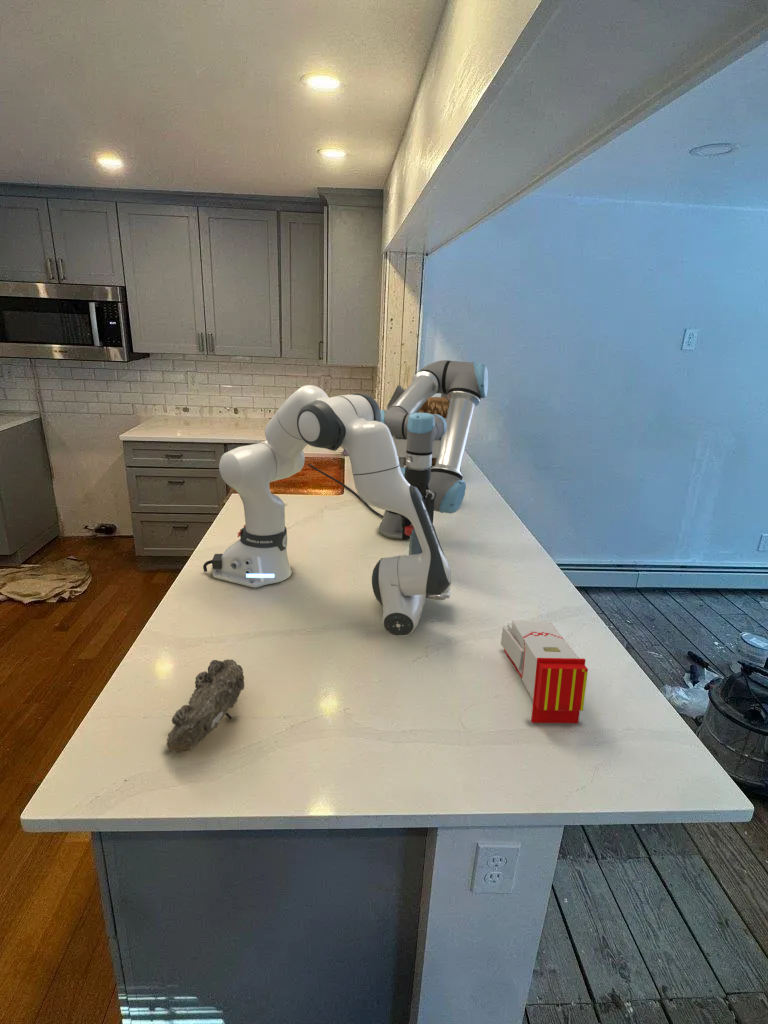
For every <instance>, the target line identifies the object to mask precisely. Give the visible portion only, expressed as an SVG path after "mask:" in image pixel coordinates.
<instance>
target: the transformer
mask: <svg viewBox="0 0 768 1024" xmlns="http://www.w3.org/2000/svg"><path fill="white" fill-rule="evenodd" d="M405 390H406V389H404V388H403V387H402V385H399V384H398V385H397V386H396V388H395V390H394V392H393V394H392V395H391V398H390V400H389V402H388V404H387V405H386V411H387V410H388V409H389V408H390V407H391V406H392V405H393V404H394V403H395V402H396V400H397V399H398V398H399V397H400V396H401V395H402V394H403V393H404V391H405ZM449 404H450V401H449V400H448V398H447V394H441V393H440V396H431V397H429V398H428V399H427V400H426V401H425V403H424V404H423V405H422V406H421V408H420V409H419V410H418V411H417V413H429V414H438V415H440V416H442V417H443V418H444V419H445V421H446V417H447V413H448V408H449ZM392 438H393V441H394V444H395V447H396V450H397V454H398V458H399V463H400V468H403V467H405V466H406V465H405V464H406V447H407V438H402V437H393V436H392ZM441 438H442V437H441ZM441 438H440V439H438V440H436V441H434V442H433V449H432V463H431V467H434V466H435V464H436V459H437V455H438V451H439V447H440V442H441ZM460 472H462V466H461V467H460Z"/></svg>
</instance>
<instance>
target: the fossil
mask: <svg viewBox="0 0 768 1024" xmlns="http://www.w3.org/2000/svg"><path fill="white" fill-rule="evenodd" d="M243 670H244V669H243V667H242V665H240V664H237V662H236V661H235V660H234V659H232V658H231V659H227V658H226V659H224V660H223V661H222V660H217V659H212V660H211V661H210V663H209V665H208V666H207V671H201V672H199V673H198V674H197V675H196V676H195V680H194V684H195V685H194V687H195V689H194V690H193V693H192V694H191V697H190V698H189V700H188V704H184V705H182V706H181V707H180V709H177V710H176V711H175V713H174V715H173V716H172V718H171V723H172V724H173V727H172V730H171V731H170V732H168V734H167V738H166V741H167V742H166V745H167V749H168V750H169V751H173V752H174V753H176V754H178V753H182V752H188V751H189V752H192V751H193V750H195V748H196V747H197V746H199V744H200V743H201V742H203V741H204V740H205V739H206V738H207V737H208V736H209V735H210V734H211V733H212V732H214V730H215V729H217V727H218V726H219V724H220V722H221V721H222V720H223V719H224V718H225V716H226V717H227V719H229V720H233V717H232V715H230V714H229V710H230V709H231V708H234V706H235V704H236V703H237V702H238V699H239V697H240V695H241V693H242V691H243V690H245V689H244V688H245V675H244V671H243Z"/></svg>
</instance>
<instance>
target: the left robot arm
mask: <svg viewBox="0 0 768 1024" xmlns="http://www.w3.org/2000/svg"><path fill="white" fill-rule="evenodd" d="M380 410H381V409H380V406H379V404H378V402H377V401H376V399H374V397H372V396H370V395H368V394H365V393H357V392H355V393H350V394H339V395H334V396H330V397H329V396H328V394H327V393H326V392H325V390H323V389H322V388H320V387H319V386H316V385H313V384H305V385H303V386H300V387H299V388H298V389H296V390H295V391H294V392H293V393H292V394H290V395H289V396H288V397H287V398H286V400H285V401H284V402H283V403H281V405H280V406H279V408H278V409H277V410H276V412H275V413H274V414H273V415H272V417H271V419H269V421H268V422H267V424H265V425H266V426H265V428H264V436H265V437H264V438H265V440H263V441H262V442H258V443H252V444H247V445H242V446H238V447H235V448H233V449H231V450H228V451H226V452H224V453H222V455H221V457H220V459H219V464H218V472H219V475H220V477H221V479H222V481H223V482H224V483H225V484H226V485H227V486H228V487H230V488H232V489H233V490H235V491H236V492H237V494H238V495H239V497H240V500H241V501H242V505H243V509H244V510H243V511H244V523H245V524H244V525H243V527H242V528H240V530H239V531H238V533H237V538H240V539H238V540H237V541H235V542H234V543H233V544H231V545H229V546H228V547H227V548H226V549H225V550H224V551H223V552H222V553H214V554H213V557H212V559H210V560H207V561H205V562H204V564H203V565H202V569H203V572H204V573H208V567H207V566H209V565H210V564H211V569H212V578H215V579H218V580H222V581H225V582H226V581H227V582H230V583H234V584H238V585H242V586H246V587H250V588H255V589H256V588H260V587H263V586H266V585H272V584H277V583H280V582H283V581H285V580H287V579H288V578H290V577H291V575H292V573H293V572H292V568H291V565H290V562H289V557H288V550H287V547H288V530H287V529H288V528H287V527H286V505H285V502H284V500H283V499H281V498H280V496H278V495H277V494H274V493H272V492H271V489H270V488H271V487H270V483H272V482H276V481H281V480H285V479H288V478H290V477H292V476H294V475H296V474H297V473H299V472H301V471H302V470H303V468H304V466H305V462H306V461H305V460H306V457H305V452H304V449H305V448H306V447H307V445H308V446H311V447H313V448H318V449H319V448H320V449H326V450H329V451H333V452H336V451H337V450H338V449H339V448H342V449H343V450H344V449H345V450H346V451H347V453H348V455H347V456H348V457H349V461H350V466H351V472H352V477H353V482H354V486H355V490H356V493H357V494H358V495H359V496H360V497H361V499H362V500H363V501H365V502H366V503H367V504H368V505H369V506H370V507H372V508H375V509H379V510H383V511H385V510H388V511H392V512H395V513H398V514H401V515H403V516H405V517H407V518H408V519H409V520H410V521H411V523H412V524H413V526H414V529H415V532H416V535H417V537H418V540H419V543H420V545H421V548H422V551H423V553H421V554H414V555H409V554H407V555H405V554H404V555H393V556H388V557H381V558H380V559H379V560H378V561H377V562H376V564H375V566H374V568H373V570H372V574H371V586H372V591H373V594H374V597H375V600H376V602H378V603H379V604H380V605H381V606H382V625H383V627H384V629H385V630H386V632H388V633H389V634H391V635H393V636H396V637H404V636H408V635H410V634H412V633H413V632H414V631H415V630H416V628H417V626H418V624H419V623H420V619H421V616H422V613H423V609H424V606H425V603H426V599H428V600H436V601H444V600H447V599H450V597H451V596H452V595H451V594H452V592H451V590H452V589H451V588H452V569H451V565H450V562H449V561H448V558H447V556H446V554H445V552H444V550H443V548H442V545H441V543H440V539H439V538H438V537H439V536H438V535H437V532H436V531H437V530H436V528H435V525H434V522H433V523H432V520H431V517H430V515H429V512H428V510H427V507H426V504H425V502H424V500H423V497H422V495H421V493H420V492H419V490H418V489H417V487H414V486H412V485H410V484H409V483H408V482H407V481H406V479H405V478H404V476H403V474H402V471H401V468H400V463H399V458H398V454H397V450H396V447H395V444H394V441H393V438H392V435H391V433H390V430H389V428H388V427H387V426H386V425H385V424H384V423H382V422H380V420H381V412H380Z"/></svg>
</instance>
